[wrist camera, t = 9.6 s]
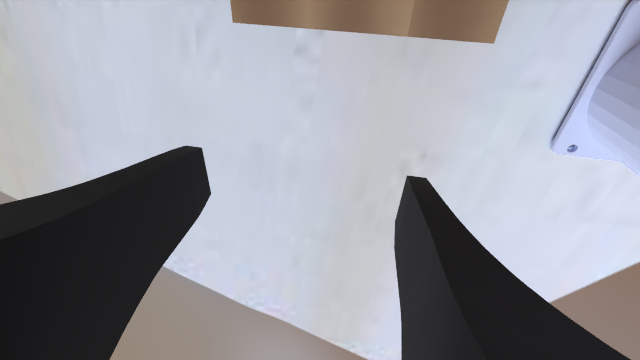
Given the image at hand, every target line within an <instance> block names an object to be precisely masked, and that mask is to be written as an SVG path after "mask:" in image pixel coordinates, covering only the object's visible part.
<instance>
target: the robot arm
mask: <svg viewBox="0 0 640 360" xmlns="http://www.w3.org/2000/svg"><path fill="white" fill-rule="evenodd" d="M571 145H574V147H573V148H571V149H567V148H568V147H569V146H571ZM550 147H551V150H552V151H553V152H554V153H555V154H558V155H565V156H574V157H582V158H590V159H599V160H607V161H615V162H621V163H622V164H624V165H625V166H626V167H627V168H629V169H630V170H631V171H632V172H634V173H635V174H636V175H637V176H639V177H640V0H633V1H632V2H631V3H629V5H628V6H627V7H626V9H625V11H624V13H623V14H622V16H621V18H620V20H619V22H618V23H617V25H616V27H615V29H614V31H613V32H612V34H611V36H610V38H609V40H608V42H607V43H606V45H605V47H604V49H603V51H602V52H601V54H600V56H599V58H598V60H597V62H596V63H595V65H594V67H593V69H592V71H591V72H590V74H589V76H588V78H587V80H586V82H585V83H584V85H583V87H582V89H581V91H580V92H579V94H578V96H577V98H576V100H575V102H574V103H573V105H572V107H571V109H570V111H569V112H568V114H567V116H566V118H565V120H564V122H563V123H562V125H561V127H560V129H559V131H558V132H557V134H556V136H555V138H554V140H553V141H552V143H551V146H550ZM210 195H211V191H210V186H209V181H208V176H207V171H206V166H205V161H204V156H203V151H202V148H199V147H192V146H183V147H179V148H176V149H173V150H170V151H168V152H165V153H162V154H160V155H157V156H155V157H152V158H149V159H147V160H144V161H142V162H139V163H137V164H134V165H131V166H129V167H126V168H124V169H121V170H118V171H115V172H113V173H110V174H107V175H104V176H102V177H99V178H96V179H93V180H90V181H87V182H84V183H81V184H78V185H75V186H72V187H68V188H65V189H61V190H58V191H54V192H51V193H47V194H43V195H39V196H35V197H31V198H26V199H22V200H18V201H14V202H10V203H5V204H1V205H0V360H109V359H110V357H111V355H112V354H113V352H114V349H115V348H116V346H117V344H118V342H119V340H120V338H121V336H122V334H123V332H124V330H125V328H126V326H127V324H128V323H129V321H130V319H131V317H132V315H133V314H134V312H135V310H136V308H137V306H138V304H139V303H140V301H141V299H142V298H143V296H144V294H145V292H146V291H147V289H148V287H149V286H150V284H151V282H152V281H153V279H154V277H155V276H156V274H157V273H158V271H159V270H160V268H161V267H162V266H163V264H164V263H165V261H166V260H167V259H168V257H169V256H170V255H171V253H172V252H173V251H174V249H175V248H176V247H177V245H178V244H179V243H180V241H181V240H182V239H183V237H184V236H185V235H186V233H187V232H188V231H189V229H190V228H191V227H192V225H193V224H194V223H195V221H196V220H197V218H198V217H199V215H200V214H201V212H202V210H203V208H204V207H205V205H206V203H207V201H208V199H209V197H210ZM394 248H395V259H396V269H397V279H398V288H399V298H400V307H401V323H402V360H630V359H629V358H627V357H626V356H624V355H622V354H621V353H619V352H618V351H616V350H615V349H613V348H611V347H610V346H609V345H607V344H606V343H604V342H603V341H601V340H600V339H598V338H597V337H595V336H594V335H592V334H591V333H590V332H588V331H587V330H585V329H584V328H583V327H581V326H580V325H578V324H577V323H575V322H574V321H573V320H571V319H570V318H568V317H567V316H566V315H564V314H563V313H562V312H560V311H559V310H558V309H556V308H555V307H553V306H552V305H551V304H549V303H548V302H547V301H546V300H544V299H543V298H542V297H541V296H539V295H538V294H537V293H536V292H534V291H533V290H532V289H531V288H529V287H528V286H527V285H526V284H524V283H523V282H522V281H521V280H520V279H518V278H517V277H516V276H515V275H514V274H512V273H511V272H510V271H509V270H508V269H507V268H506V267H505V266H504V265H503V264H501V263H500V262H499V261H498V260H497V259H496V258H495V257H494V256H493V255H492V254H491V253H490V252H489V251H488V250H486V249H485V248H484V247H483V246H482V245H481V244H480V242H479V241H478V240H477V239H476V238H475V237H474V236H473V235H472V234H471V233H470V232H469V231H468V230H467V229H466V227H465V226H464V225H463V224H462V223H461V222H460V221H459V219H458V218H457V217H456V216H455V215H454V213H453V212H452V211H451V210H450V208H449V207H448V206H447V205H446V203H445V202H444V201H443V200H442V198H441V197H440V196H439V194H438V193H437V192H436V190H435V189H434V188H433V186H432V185H431V184H430V182H429V181H428V180H427V178H422V177H414V176H407V178H406V182H405V186H404V189H403V193H402V197H401V201H400V205H399V209H398V213H397V217H396V220H395V245H394Z"/></svg>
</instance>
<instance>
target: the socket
mask: <svg viewBox="0 0 640 360" xmlns="http://www.w3.org/2000/svg"><path fill="white" fill-rule="evenodd" d="M230 1H231V10H232V19H233V23H246V24H258V25H271V26H283V27H295V28H308V29H320V30H332V31H345V32H357V33H370V34H382V35H394V36H407V37H419V38H431V39H444V40H456V41H469V42H481V43H493V44H494V41H495V38H496V36H497V33H498V30H499V27H500V24H501V21H502V18H503V16H504V13H505V10H506V7H507V4H508V1H509V0H230Z"/></svg>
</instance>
